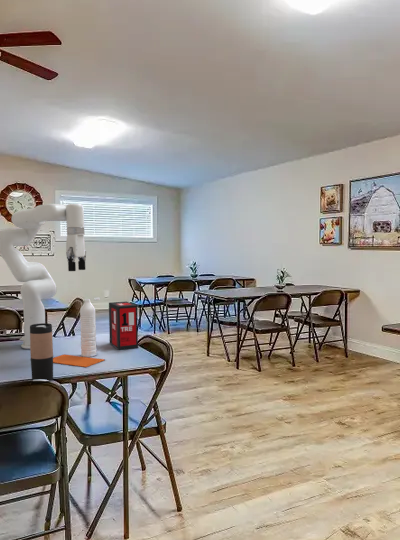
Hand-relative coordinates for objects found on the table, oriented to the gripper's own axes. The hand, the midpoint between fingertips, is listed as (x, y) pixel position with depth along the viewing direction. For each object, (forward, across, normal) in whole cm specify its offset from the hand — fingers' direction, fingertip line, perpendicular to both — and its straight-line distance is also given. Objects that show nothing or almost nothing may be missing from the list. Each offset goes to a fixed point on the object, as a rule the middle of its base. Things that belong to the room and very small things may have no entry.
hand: (77, 270), depth 208 cm
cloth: (+37, +15, +4) cm, 40 cm away
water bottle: (+37, +4, +7) cm, 38 cm away
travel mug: (+37, +42, +6) cm, 56 cm away
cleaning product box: (+37, -16, +15) cm, 43 cm away
